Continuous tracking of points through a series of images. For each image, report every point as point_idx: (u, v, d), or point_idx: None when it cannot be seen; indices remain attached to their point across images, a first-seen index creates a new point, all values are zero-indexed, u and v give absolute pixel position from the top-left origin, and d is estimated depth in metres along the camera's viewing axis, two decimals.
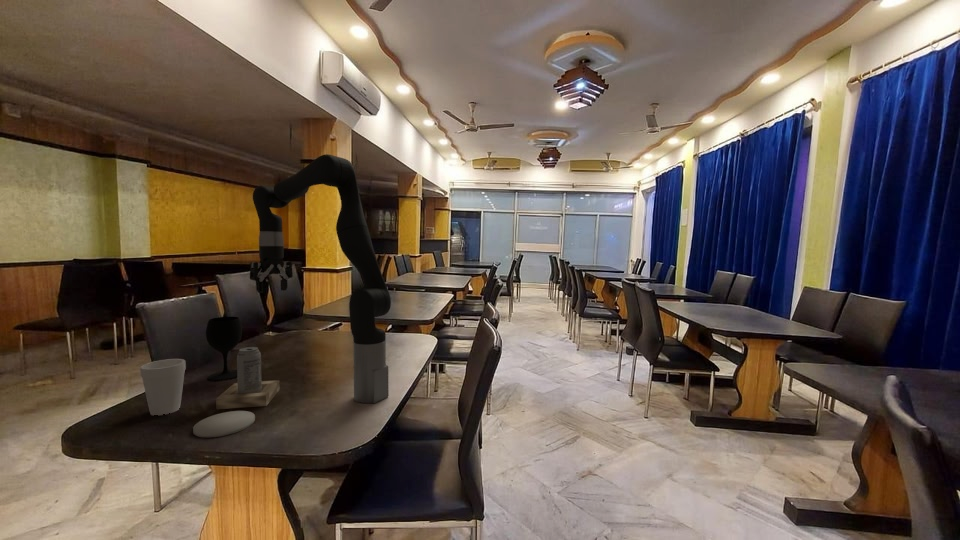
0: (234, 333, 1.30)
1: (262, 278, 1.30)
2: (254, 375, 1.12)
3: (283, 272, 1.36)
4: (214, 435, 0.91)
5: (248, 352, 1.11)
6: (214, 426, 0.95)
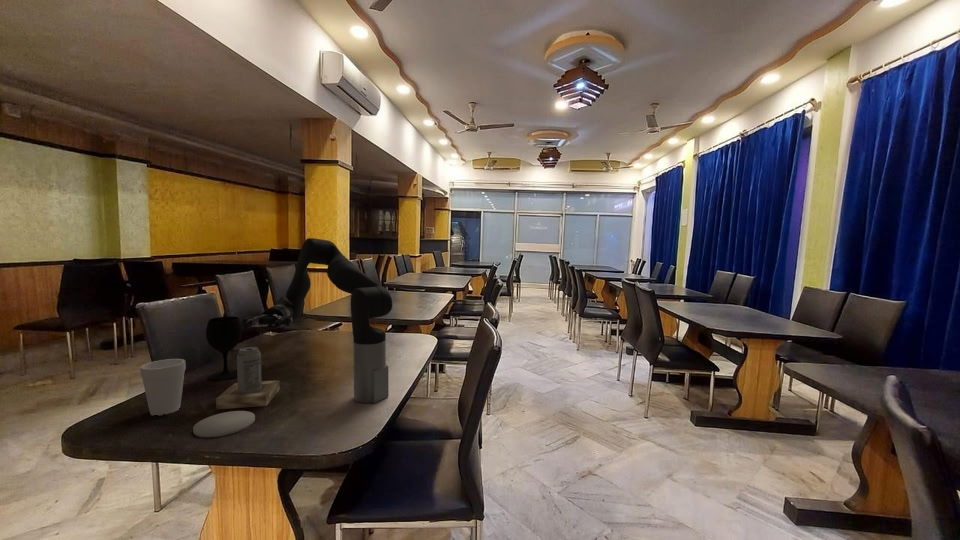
0: (234, 333, 1.30)
1: (252, 319, 1.27)
2: (254, 375, 1.12)
3: (277, 316, 1.30)
4: (214, 435, 0.91)
5: (248, 352, 1.11)
6: (214, 426, 0.95)
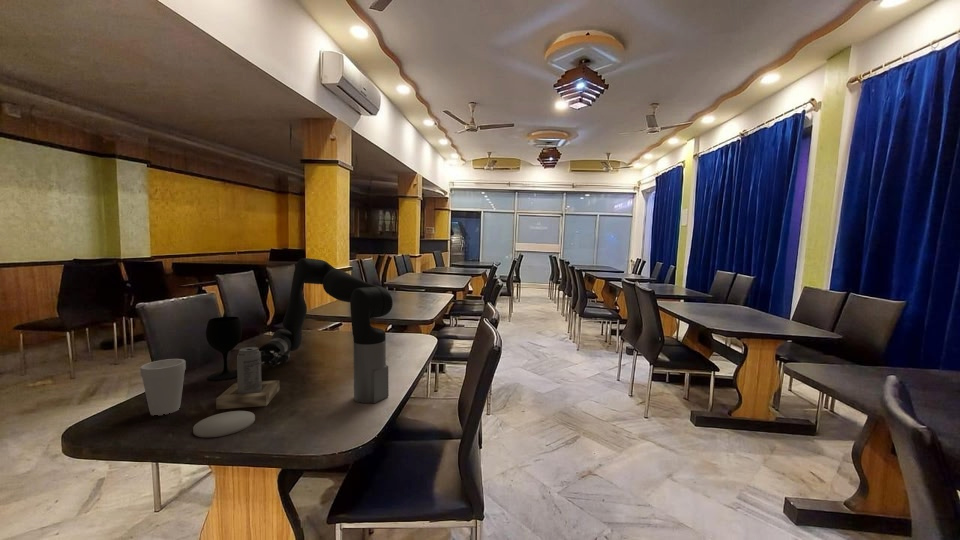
0: (234, 333, 1.30)
1: None
2: (254, 375, 1.12)
3: (274, 352, 1.26)
4: (214, 435, 0.91)
5: (248, 352, 1.11)
6: (214, 426, 0.95)
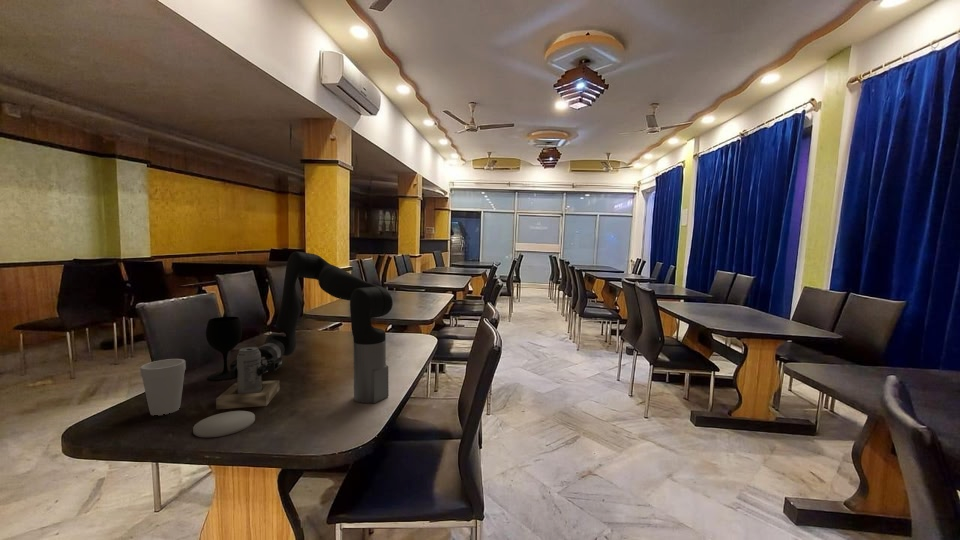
0: (234, 333, 1.30)
1: None
2: (255, 375, 1.12)
3: (264, 360, 1.18)
4: (214, 435, 0.91)
5: (248, 352, 1.11)
6: (214, 426, 0.95)
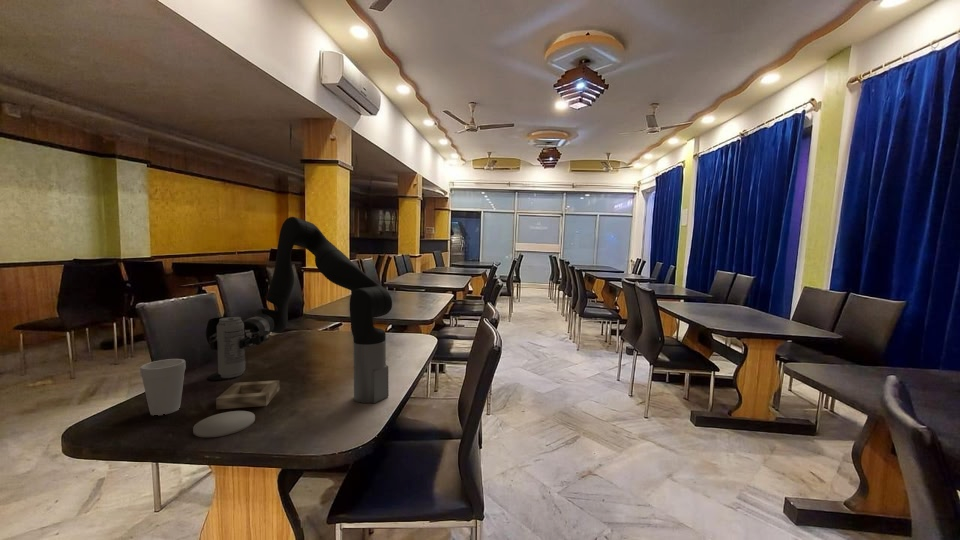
0: None
1: None
2: (236, 347, 1.00)
3: (248, 332, 1.06)
4: (214, 435, 0.91)
5: (229, 321, 0.99)
6: (214, 426, 0.95)
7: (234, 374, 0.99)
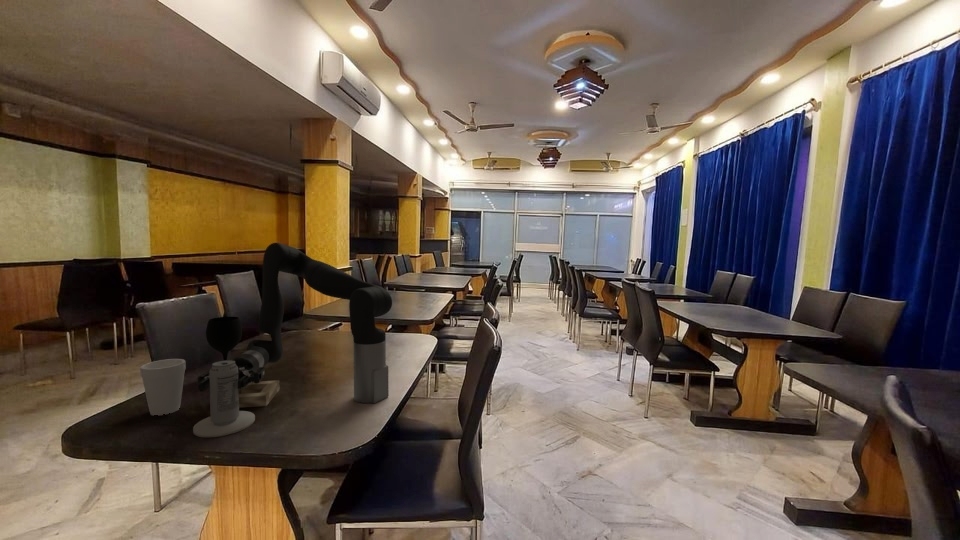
0: (234, 333, 1.30)
1: None
2: (230, 393, 0.95)
3: (244, 370, 1.02)
4: (214, 435, 0.91)
5: (222, 367, 0.95)
6: (214, 426, 0.95)
7: (227, 421, 0.95)
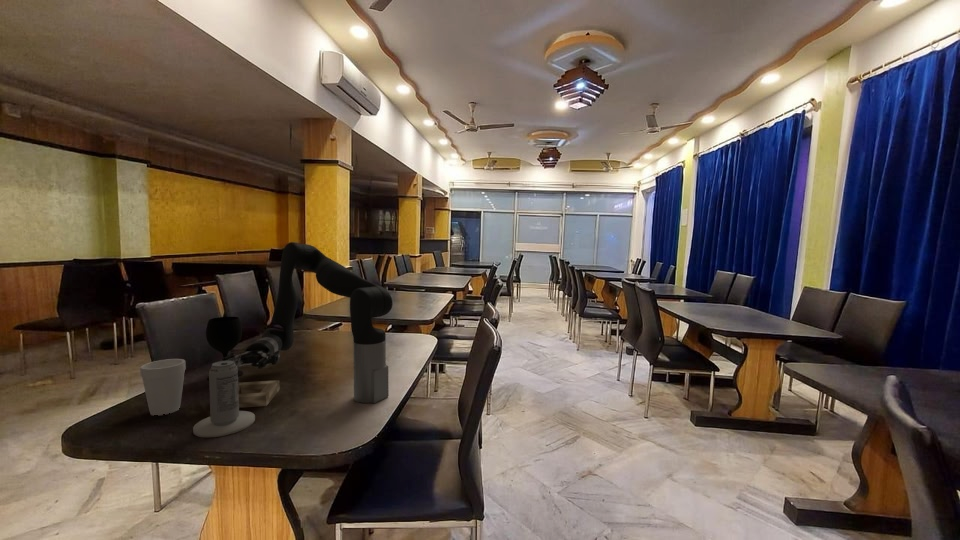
0: (234, 333, 1.30)
1: (232, 358, 1.12)
2: (230, 394, 0.95)
3: (262, 353, 1.15)
4: (214, 435, 0.91)
5: (222, 367, 0.94)
6: (214, 426, 0.95)
7: (227, 421, 0.95)
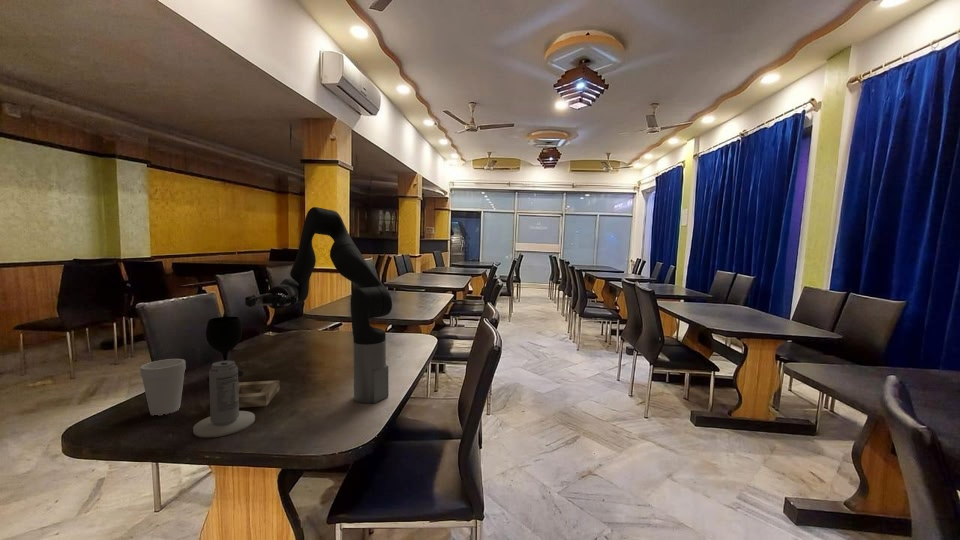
0: (234, 333, 1.30)
1: (255, 297, 1.19)
2: (230, 394, 0.95)
3: (282, 294, 1.23)
4: (214, 435, 0.91)
5: (222, 367, 0.94)
6: (214, 426, 0.95)
7: (227, 421, 0.95)
